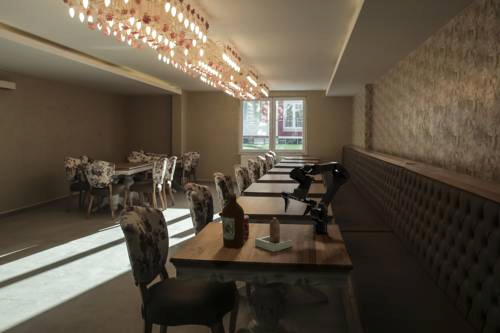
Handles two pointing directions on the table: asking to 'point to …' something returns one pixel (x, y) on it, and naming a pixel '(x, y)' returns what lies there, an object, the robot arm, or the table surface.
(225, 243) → the olive oil
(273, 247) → the pale green u-shaped block
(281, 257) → the table surface
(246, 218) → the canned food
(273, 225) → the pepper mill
